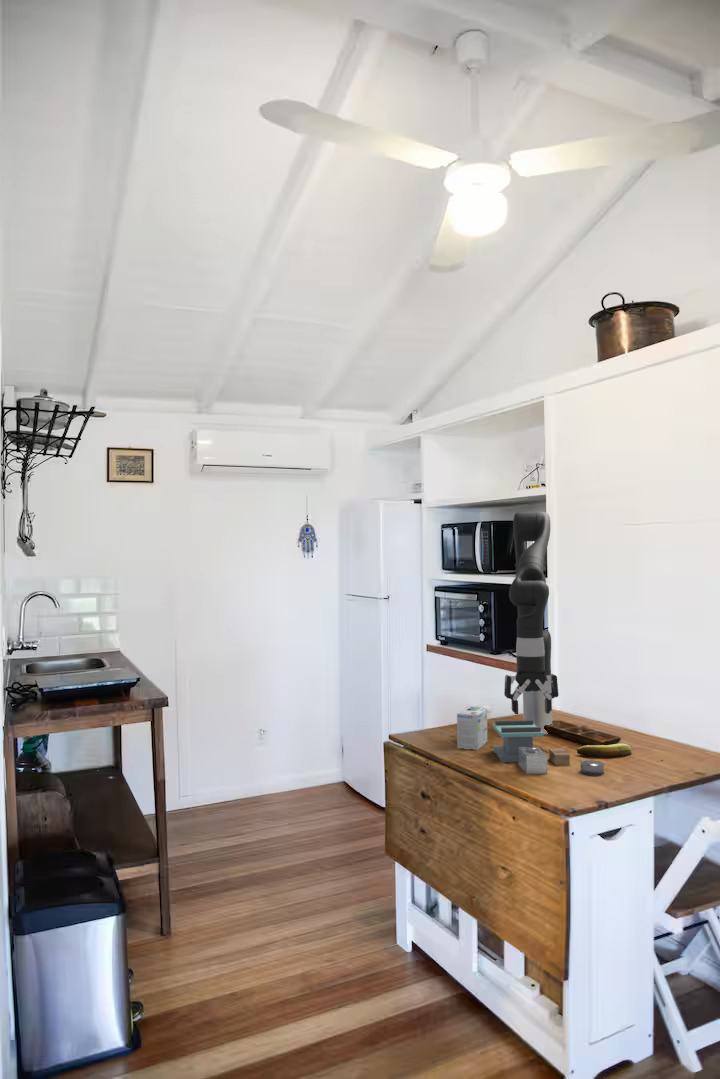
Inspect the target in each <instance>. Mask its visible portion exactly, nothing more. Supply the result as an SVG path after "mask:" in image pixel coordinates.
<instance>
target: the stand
mask: <svg viewBox="0 0 720 1079" xmlns="http://www.w3.org/2000/svg"><path fill="white" fill-rule="evenodd" d="M492 728H493V729H494V730H495V732H496V733H497V734H498V736H500V738H502V739H503V740H502V741H503V742H502V744H503V745H492V748H493V750H494V751H493V752H494V753H496V754H497V755H496V754H495V755H496V757H497V758H498V757H499V758H498V759H499V761H500V762H501V761H502V762H501V763H519V751H518V747H528V746H535V745H534V737H545V736H544V735H545V734H544V733H543V732H542V731H541V727H537V726H536V725H535V724H533V720H523V719H516V720H515V719H511V720H510V719H507V720H506V719H505V720H502V719H501V720H495V721H494V723H492Z"/></svg>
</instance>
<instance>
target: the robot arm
mask: <svg viewBox="0 0 720 1079" xmlns="http://www.w3.org/2000/svg"><path fill="white" fill-rule="evenodd" d="M512 520H513V521H512V522H513V523H512V528H513V540H514V542H513V543H514V549H515V550H514V551H515V578H514V579H513V581H512V582H511V585H510V587H509V591H508V597H509V601H510V602H511V603H512V604H513V605H514V606H516V607H517V618H516V643H515V644H516V646H515V648H516V653H515V654H516V673H515V675H509V674H505V676H504V697H505V698H506V699H510V700H511V710H512V712H513V714H514V715H519V700H518V699H519V697H520V696H521V695H522V715H523V716H522V720H533V724H535V725H536V726H537V727H541V731H542V732H543V733H544V735H549V734H548V733H547V731H546V730H545V729H544V726H545V725H550V724H552V725H553V699H555V698H558V697H559V687H558V686H559V684H558V677H557V675H556V674H554V673H552V665H551V664H552V662H551V660H552V635H551V633H550V631H549V630H546V629H545V630H544V616H545V612H546V607H547V603H548V600H549V596H550V589H549V586H548V584H547V582H546V581H547V579H546V576H545V573H544V563H545V557H546V553H547V550H548V545H549V540H550V537H551V517H550V515H549V513H547V512H546V511H516V512H515V513H514V515H513V519H512ZM526 542H533V543H532V544H530V545H529V546H528V547H527V544H526ZM515 681H516V683H517V684H518V685H517V686H516V687H515V688H514V691H513V693H512V685H513V684H514V682H515Z"/></svg>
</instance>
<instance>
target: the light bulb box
mask: <svg viewBox="0 0 720 1079" xmlns="http://www.w3.org/2000/svg"><path fill="white" fill-rule="evenodd" d="M456 728H457V729H456V731H457V732H456V733H457V734H456V736H457V739H456V740H457V743H456V744H457V749H461V748H464V749H463V750H470V749H473V750H472V751H479V749H480V747H481V748H482V747H483V746H485V745H486V744H487V743H488V708H487V707H478V706H477V707H476V706H467V707H465V708H463V709H462V710H461V711H459V712H457V713H456ZM486 742H487V743H486Z"/></svg>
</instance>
